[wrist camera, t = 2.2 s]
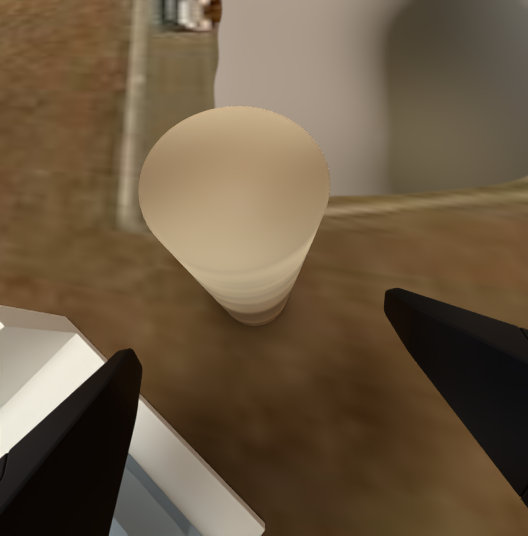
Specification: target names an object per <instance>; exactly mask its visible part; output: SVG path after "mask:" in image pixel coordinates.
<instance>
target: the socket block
mask: <svg viewBox="0 0 528 536" xmlns="http://www.w3.org/2000/svg"><path fill="white" fill-rule="evenodd" d="M109 536H202V535H201V534H200V533H199V532H198V531H197V529H196V528H195V527H194V526H193V525H192V524H191V523H190V522H189V520H188V519H187V518H186V517H185V516H184V515H183V514H182V513H181V511H180V510H179V509H178V508H177V507H176V506H175V505H174V504H173V503H172V501H171V500H170V499H169V498H168V497H167V496H166V495H165V494H164V492H163V491H162V490H161V489H160V488H159V487H158V486H157V485H156V483H155V482H154V481H153V480H152V479H151V478H150V477H149V476H148V475H147V473H146V472H145V471H144V470H143V469H142V468H141V467H140V466H139V464H138V463H137V462H136V461H135V460H134V459H133V458H132V457H131V456H130V454H129V453H128V456H127V460H126V465H125V469H124V473H123V477H122V482H121V486H120V490H119V495H118V499H117V503H116V507H115V512H114V516H113V520H112V524H111V529H110V533H109Z"/></svg>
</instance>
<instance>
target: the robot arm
mask: <svg viewBox="0 0 528 536" xmlns="http://www.w3.org/2000/svg"><path fill="white" fill-rule="evenodd" d="M384 312H385V315H386V316H387V318H388V320H389V321H390V323H391V325H392V326H393V328H394V329H395V331H396V333H397V334H398V336H399V338H400V339H401V341H402V343H403V344H404V346H405V347H406V349H407V350H408V352H409V353H410V354H411V356H412V357H413V358H414V360H415V361H416V362H417V364H418V365H419V366H420V368H421V369H422V370H423V371H424V373H425V374H426V375H427V377H428V378H429V379H430V381H431V382H432V383H433V385H434V386H435V387H436V388H437V390H438V391H439V392H440V394H441V395H442V396H443V398H444V399H445V400H446V401H447V403H448V404H449V405H450V407H451V408H452V409H453V411H454V412H455V413H456V415H457V416H458V417H459V418H460V420H461V421H462V422H463V424H464V425H465V426H466V428H467V429H468V430H469V431H470V433H471V434H472V435H473V437H474V438H475V439H476V441H477V442H478V443H479V445H480V446H481V447H482V448H483V450H484V451H485V452H486V454H487V455H488V456H489V458H490V459H491V460H492V461H493V463H494V464H495V465H496V467H497V468H498V469H499V471H500V472H501V473H502V475H503V476H504V477H505V478H506V480H507V481H508V482H509V484H510V485H511V486H512V488H513V489H514V490H515V492H516V493H517V494H518V495H519V496H520V497H521V500H522V501H523V502H524V504H525V505H526V506H527V508H528V329H524V328H519V327H518V326H515V325H512V324H509V323H506V322H503V321H500V320H496V319H493V318H490V317H487V316H484V315H481V314H478V313H475V312H472V311H469V310H466V309H462V308H459V307H456V306H453V305H450V304H447V303H444V302H441V301H438V300H435V299H432V298H428V297H425V296H422V295H419V294H416V293H413V292H410V291H407V290H404V289H401V288H393V289H389V290H387V291H386V292H385V300H384ZM141 379H142V365H141V363H140V361H139V359H138V358H137V356H136V354H135V352H134V351H133V349H130V348H129V349H124V350H120V351H118V352H116V353H115V354H114V355H113V356H112V357H111V358H110V359H109V360H108V361H107V362H105V363H104V364H103V365H102V366H101V367H100V368H99V369H98V370H97V371H96V372H94V373H93V374H92V375H91V376H90V377H89V378H88V379H87V380H86V381H85V382H83V383H82V384H81V385H80V386H79V387H78V388H77V389H76V390H75V391H74V392H72V393H71V394H70V395H69V396H68V397H67V398H66V399H65V400H64V401H63V402H61V403H60V404H59V405H58V406H57V407H56V408H55V409H54V410H53V411H52V412H51V413H49V414H48V415H47V416H46V417H45V418H44V419H43V420H42V421H41V422H40V423H38V424H37V425H36V426H35V427H34V428H33V429H32V430H31V431H30V432H29V433H27V434H26V435H25V436H24V437H23V438H22V439H21V440H20V441H19V442H18V443H16V444H15V445H14V446H13V447H12V448H11V449H10V450H9V452H8V453H6V454H4V455H3V456H2V457H1V458H0V536H109V533H110V529H111V524H112V520H113V516H114V512H115V507H116V503H117V499H118V495H119V490H120V486H121V482H122V477H123V473H124V469H125V465H126V460H127V456H128V452H129V448H130V443H131V439H132V435H133V431H134V426H135V422H136V417H137V411H138V403H139V395H140V387H141Z"/></svg>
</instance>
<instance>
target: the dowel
mask: <svg viewBox="0 0 528 536" xmlns="http://www.w3.org/2000/svg"><path fill="white" fill-rule="evenodd" d="M329 195H330V175H329V170H328V166H327V162H326V160H325V157H324V155H323V153H322V151H321V149H320V148H319V146H318V144H317V143H316V142H315V140H313V138H312V137H311V136H310V135H309V134H308V133H307V132H306V131H305V130H304V129H303V128H302V127H300V126H299V125H298V124H296V123H294V122H293V121H291V120H290V119H288V118H286V117H284V116H282V115H280V114H277V113H275V112H271V111H268V110H264V109H260V108H255V107H246V106H230V107H221V108H216V109H211V110H207V111H204V112H201V113H198V114H196V115H193V116H191V117H189V118H187V119H185V120H183V121H182V122H180V123H178V124H177V125H175V126H174V127H173V128H171V129H170V130H169V131H168V132H167V133H165V134H164V135H163V136H162V137H161V138H160V139H159V141H158V142H157V143H156V144H155V145H154V147H153V148H152V150H151V151H150V153H149V154H148V156H147V158H146V160H145V162H144V165H143V168H142V171H141V175H140V180H139V202H140V207H141V210H142V214H143V216H144V219H145V221H146V223H147V225H148V227H149V228H150V230H151V231H152V233H153V234H154V235H155V236H156V238H157V239H158V240H159V241H160V242H161V243H162V244H163V245H164V246H165V247H166V248H167V249H168V250H169V251H170V252H171V253H172V254H173V255H174V257H175V258H176V259H177V260H178V261H179V262H180V263H181V264H182V265H183V266H184V267H185V268H186V269H187V270H188V271H189V272H190V273H191V274H192V275H193V276H194V277H195V278H196V280H197V281H198V282H199V283H200V284H201V285H202V286H203V287H204V288H205V289H206V290H207V291H208V292H209V293H210V294H211V295H212V296H213V297H214V298H215V299H216V300H217V301H218V303H219V304H220V305H221V306H222V307H223V308H224V309H225V310H226V311H227V312H228V313H229V314H230V315H231V316H232V317H233V318H234V319H235V320H237V321H238V322H240V323H242V324H245V325H249V326H260V325H264V324H267V323H269V322H271V321H273V320H274V319H276V318H277V317H278V316H279V315H280V313H281V312H282V310H283V309H284V307H285V304H286V302H287V300H288V297H289V295H290V293H291V290H292V288H293V285H294V283H295V281H296V278H297V276H298V274H299V271H300V269H301V267H302V264H303V262H304V259H305V257H306V255H307V252H308V250H309V248H310V245H311V243H312V241H313V238H314V236H315V233H316V231H317V229H318V226H319V224H320V222H321V219H322V217H323V214H324V212H325V209H326V207H327V203H328V199H329Z"/></svg>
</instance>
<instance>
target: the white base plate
mask: <svg viewBox="0 0 528 536" xmlns="http://www.w3.org/2000/svg"><path fill="white" fill-rule="evenodd" d="M107 361H108V360H107V359H106V358H105V357H104V356H103V355H102V354H101V353H100V352H99V351H98V350H97V349H96V348H95V347H94V346H93V344H92V343H91V342H90V341H89V340H88V339H87V338H86V337H85V336H84V335H83V334H82V333H81V332H80V331H79V330H78V329H77V328H76V327H75V326H74V325H73V324H72V323H71V322H70V321H69V320H68V319H67V318H66V317H65V316H59V315H53V314H47V313H42V312H36V311H30V310H25V309H19V308H13V307H8V306H2V305H0V458H1V457H2V456H3V455H4V454H6V453H8V452H9V450H10V449H11V448H12V447H13V446H14V445H15V444H16V443H18V442H19V441H20V440H21V439H22V438H23V437H24V436H25V435H26V434H27V433H29V432H30V431H31V430H32V429H33V428H34V427H35V426H36V425H37V424H38V423H40V422H41V421H42V420H43V419H44V418H45V417H46V416H47V415H48V414H49V413H51V412H52V411H53V410H54V409H55V408H56V407H57V406H58V405H59V404H60V403H61V402H63V401H64V400H65V399H66V398H67V397H68V396H69V395H70V394H71V393H72V392H74V391H75V390H76V389H77V388H78V387H79V386H80V385H81V384H82V383H83V382H85V381H86V380H87V379H88V378H89V377H90V376H91V375H92V374H93V373H94V372H96V371H97V370H98V369H99V368H100V367H101V366H102V365H103V364H104V363H105V362H107ZM128 453H129V454H130V456H131V457H132V458H133V459H134V460H135V461H136V462H137V463H138V464H139V466H140V467H141V468H142V469H143V470H144V471H145V472H146V473H147V475H148V476H149V477H150V478H151V479H152V480H153V481H154V482H155V483H156V485H157V486H158V487H159V488H160V489H161V490H162V491H163V492H164V494H165V495H166V496H167V497H168V498H169V499H170V500H171V501H172V503H173V504H174V505H175V506H176V507H177V508H178V509H179V510H180V511H181V513H182V514H183V515H184V516H185V517H186V518H187V519H188V520H189V522H190V523H191V524H192V525H193V526H194V527H195V528H196V529H197V531H198V532H199V533H200V534H201V535H202V536H261V535H262V534H263V532H264V530H265V523H264V522H263V521H262V520H261V519H260V518H259V516H258V515H257V514H256V513H255V512H254V511H253V510H252V509H251V508H250V507H249V506H248V505H247V504H246V503H245V502H244V501H243V500H242V499H241V498H240V497H239V496H238V495H237V494H236V493H235V492H234V491H233V490H232V488H231V487H230V486H229V485H228V484H227V483H226V482H225V481H224V480H223V479H222V478H221V477H220V476H219V475H218V474H217V473H216V472H215V471H214V470H213V469H212V468H211V467H210V466H209V465H208V464H207V463H206V462H205V461H204V459H203V458H202V457H201V456H200V455H199V454H198V453H197V452H196V451H195V450H194V449H193V448H192V447H191V446H190V445H189V444H188V443H187V442H186V441H185V440H184V439H183V438H182V437H181V436H180V435H179V434H178V433H177V432H176V430H175V429H174V428H173V427H172V426H171V425H170V424H169V423H168V422H167V421H166V420H165V419H164V418H163V417H162V416H161V415H160V414H159V413H158V412H157V411H156V410H155V409H154V408H153V407H152V406H151V405H150V404H149V403H148V401H147V400H146V399H145V398H144V397H143V396H142V395H141V394H140V395H139V403H138V411H137V417H136V422H135V426H134V431H133V435H132V439H131V443H130V448H129V452H128Z"/></svg>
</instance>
